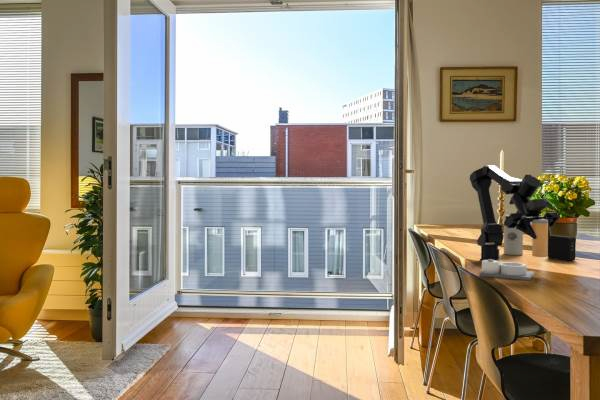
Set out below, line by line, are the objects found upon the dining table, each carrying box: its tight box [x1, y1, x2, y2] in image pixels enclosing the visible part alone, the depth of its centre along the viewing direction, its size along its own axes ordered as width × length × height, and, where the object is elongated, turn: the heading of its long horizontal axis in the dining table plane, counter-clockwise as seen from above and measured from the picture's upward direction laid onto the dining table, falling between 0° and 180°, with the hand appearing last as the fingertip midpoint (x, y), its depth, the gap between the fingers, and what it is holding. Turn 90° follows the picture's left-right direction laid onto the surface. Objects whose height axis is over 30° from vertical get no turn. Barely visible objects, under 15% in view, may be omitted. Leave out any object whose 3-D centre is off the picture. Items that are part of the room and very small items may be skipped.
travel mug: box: [503, 214, 524, 256], centre depth 229 cm, size 8×8×18 cm
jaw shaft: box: [531, 219, 548, 258], centre depth 180 cm, size 5×5×13 cm
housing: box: [479, 259, 535, 281], centre depth 181 cm, size 16×12×6 cm
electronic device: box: [547, 234, 577, 262], centre depth 213 cm, size 4×10×10 cm, turn 28°
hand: (542, 238), depth 179 cm, fingers closed on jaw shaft, 5 cm apart
